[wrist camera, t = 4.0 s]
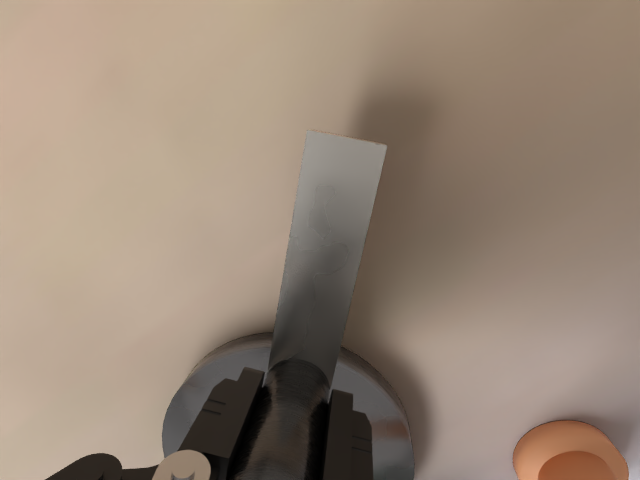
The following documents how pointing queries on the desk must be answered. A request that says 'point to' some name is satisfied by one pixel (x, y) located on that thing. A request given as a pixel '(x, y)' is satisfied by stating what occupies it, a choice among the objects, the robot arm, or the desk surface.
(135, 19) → the desk surface
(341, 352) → the crank base
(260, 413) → the crank
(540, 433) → the stop peg
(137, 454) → the desk surface
